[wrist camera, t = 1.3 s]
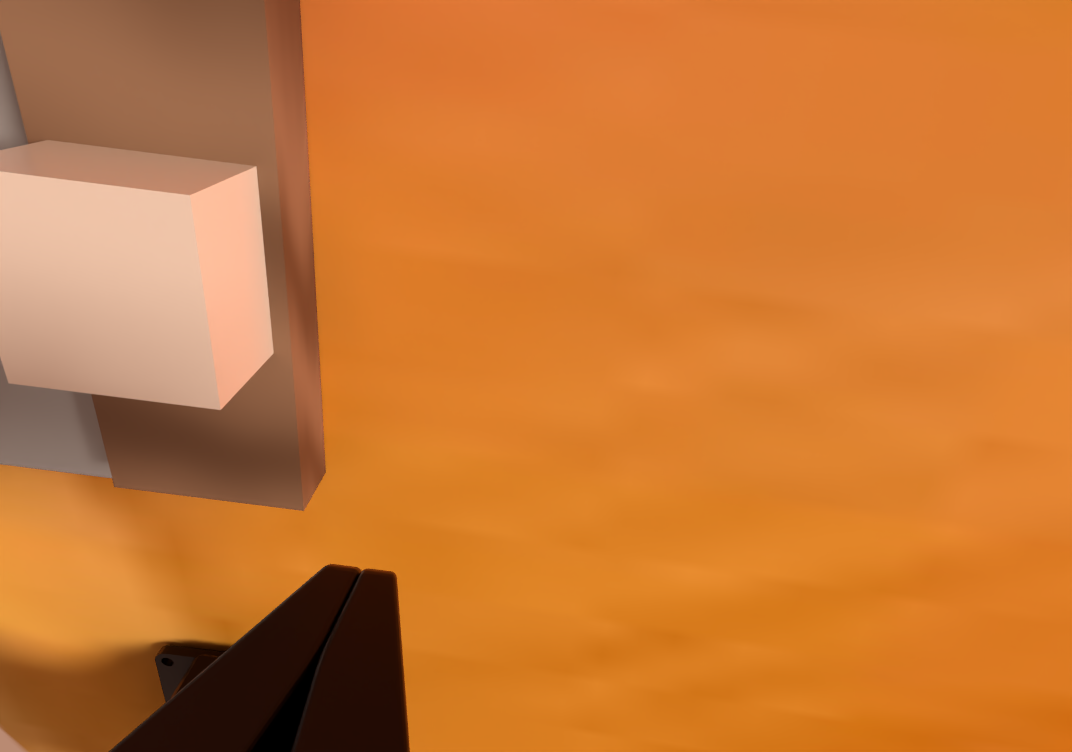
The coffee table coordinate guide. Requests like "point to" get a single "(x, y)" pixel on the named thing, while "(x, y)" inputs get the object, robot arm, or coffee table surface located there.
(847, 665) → the coffee table surface
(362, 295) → the coffee table surface
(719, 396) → the coffee table surface
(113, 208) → the peach square block
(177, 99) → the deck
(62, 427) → the mat
